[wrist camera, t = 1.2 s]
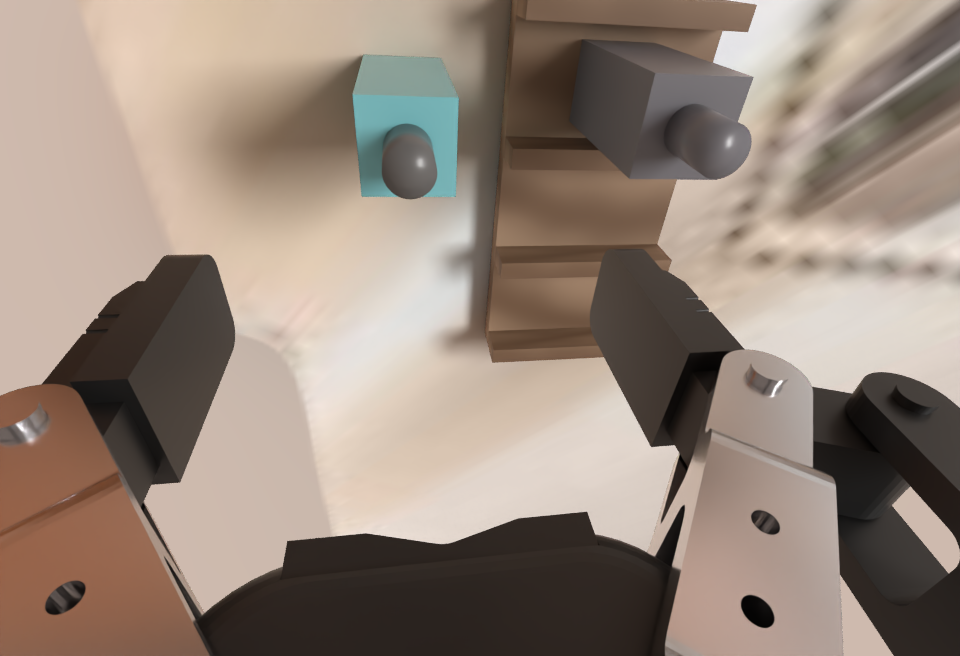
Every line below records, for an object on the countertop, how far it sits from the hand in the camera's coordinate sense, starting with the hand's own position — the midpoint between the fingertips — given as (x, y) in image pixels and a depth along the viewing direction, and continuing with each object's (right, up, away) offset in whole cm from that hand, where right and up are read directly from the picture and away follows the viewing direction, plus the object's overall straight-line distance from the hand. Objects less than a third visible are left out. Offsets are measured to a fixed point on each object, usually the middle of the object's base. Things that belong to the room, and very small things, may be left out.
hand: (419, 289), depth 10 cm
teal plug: (-2, +11, +14) cm, 17 cm away
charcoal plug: (+8, +11, +14) cm, 19 cm away
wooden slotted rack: (+7, +7, +18) cm, 21 cm away
